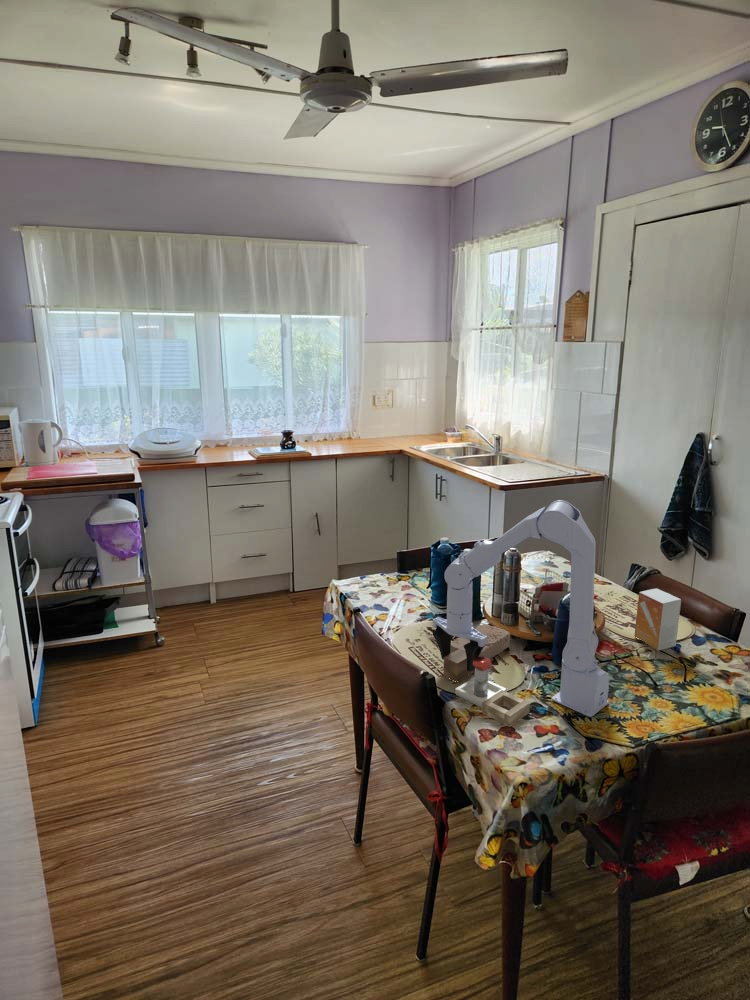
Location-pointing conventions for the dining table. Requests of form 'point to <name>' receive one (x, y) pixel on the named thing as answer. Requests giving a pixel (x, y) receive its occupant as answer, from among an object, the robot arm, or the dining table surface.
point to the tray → (468, 692)
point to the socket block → (495, 711)
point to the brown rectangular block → (456, 665)
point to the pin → (481, 676)
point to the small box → (657, 618)
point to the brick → (495, 641)
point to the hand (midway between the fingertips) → (458, 663)
